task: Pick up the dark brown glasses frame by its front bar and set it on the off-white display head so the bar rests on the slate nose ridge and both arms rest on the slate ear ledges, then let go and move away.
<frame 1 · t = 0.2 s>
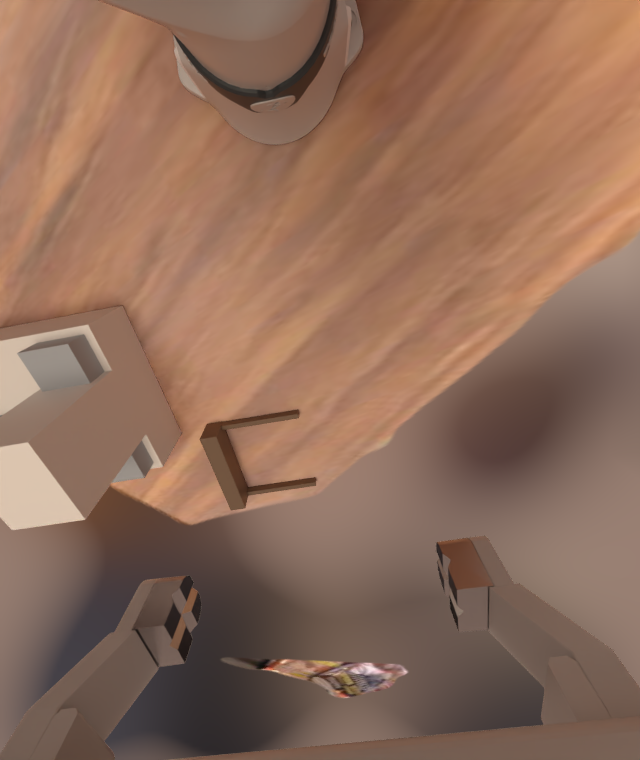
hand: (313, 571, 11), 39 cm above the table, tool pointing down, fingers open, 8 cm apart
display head: (93, 386, 52), on the table
glasses frame: (229, 459, 59), on the table
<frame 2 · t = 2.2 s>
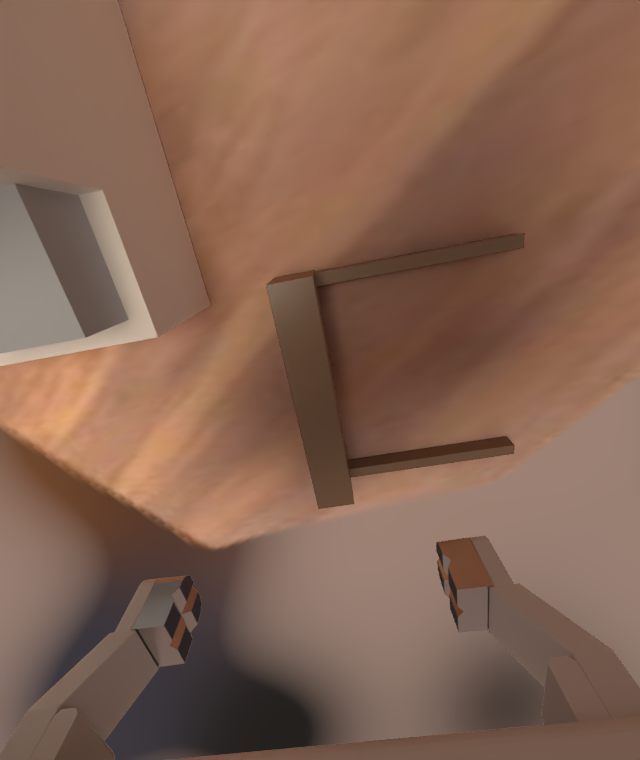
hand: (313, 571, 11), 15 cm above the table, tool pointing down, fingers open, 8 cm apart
glasses frame: (316, 384, 25), on the table
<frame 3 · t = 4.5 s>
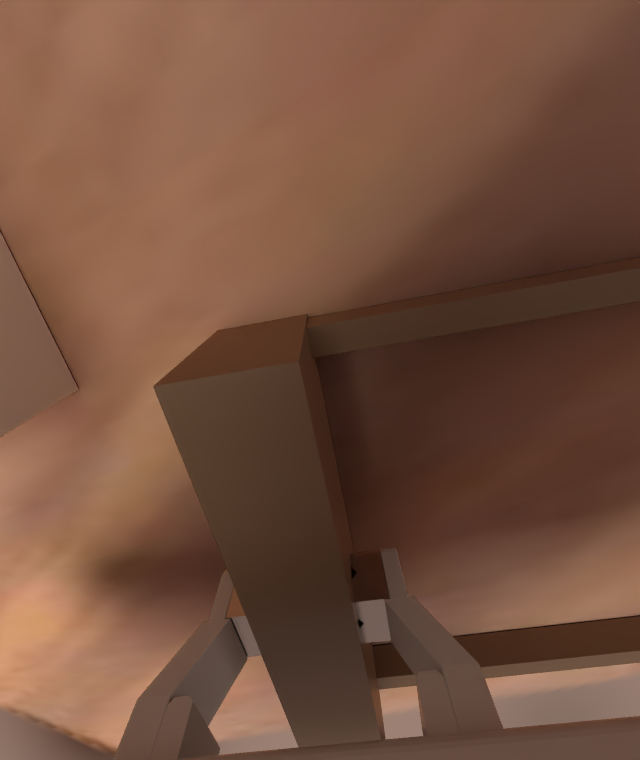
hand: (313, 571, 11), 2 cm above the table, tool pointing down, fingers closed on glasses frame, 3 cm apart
glasses frame: (314, 532, 12), on the table, touching gripper
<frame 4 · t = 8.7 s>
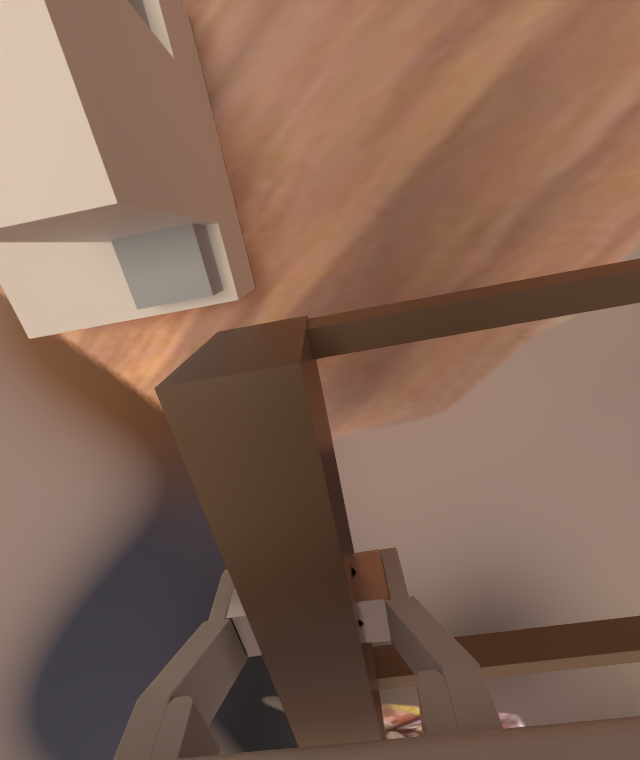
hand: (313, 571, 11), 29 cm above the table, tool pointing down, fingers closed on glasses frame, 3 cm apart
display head: (125, 190, 32), on the table
glasses frame: (314, 533, 12), point 27 cm above the table, touching gripper
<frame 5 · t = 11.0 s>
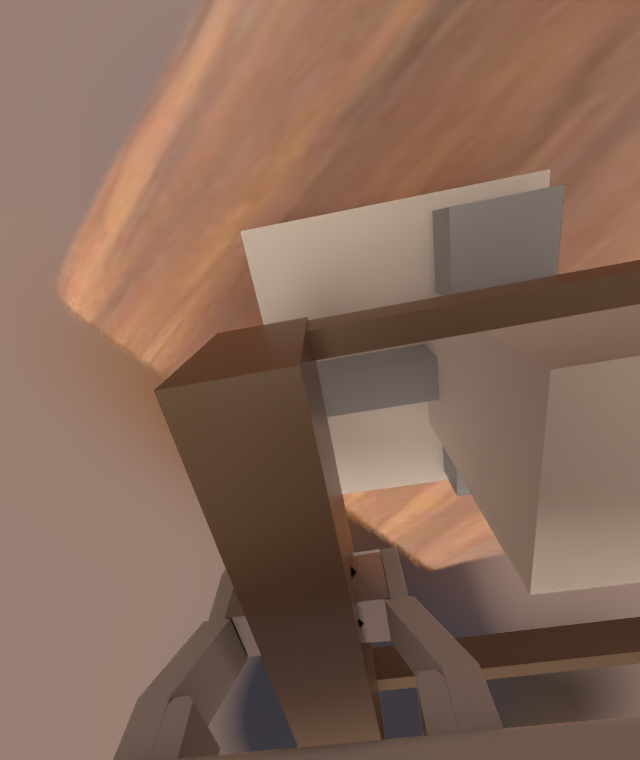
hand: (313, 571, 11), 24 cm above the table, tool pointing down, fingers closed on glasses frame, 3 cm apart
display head: (380, 338, 32), on the table
glasses frame: (314, 534, 12), point 22 cm above the table, touching gripper
when the fingers open (14 cm above the table, at t = 13.0 s): glasses frame drops 1 cm, resting on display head.
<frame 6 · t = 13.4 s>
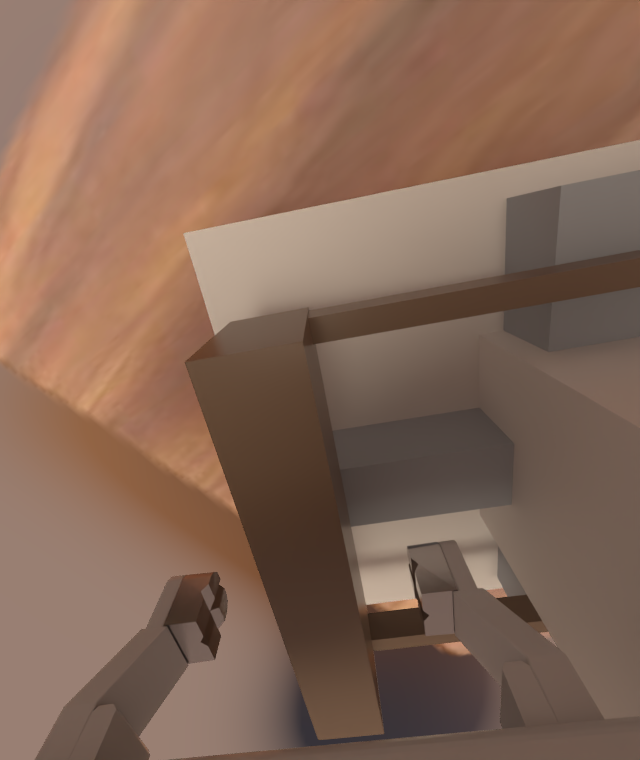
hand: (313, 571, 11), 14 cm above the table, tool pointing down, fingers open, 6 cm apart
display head: (400, 379, 24), on the table
glasses frame: (314, 505, 14), point 11 cm above the table, touching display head
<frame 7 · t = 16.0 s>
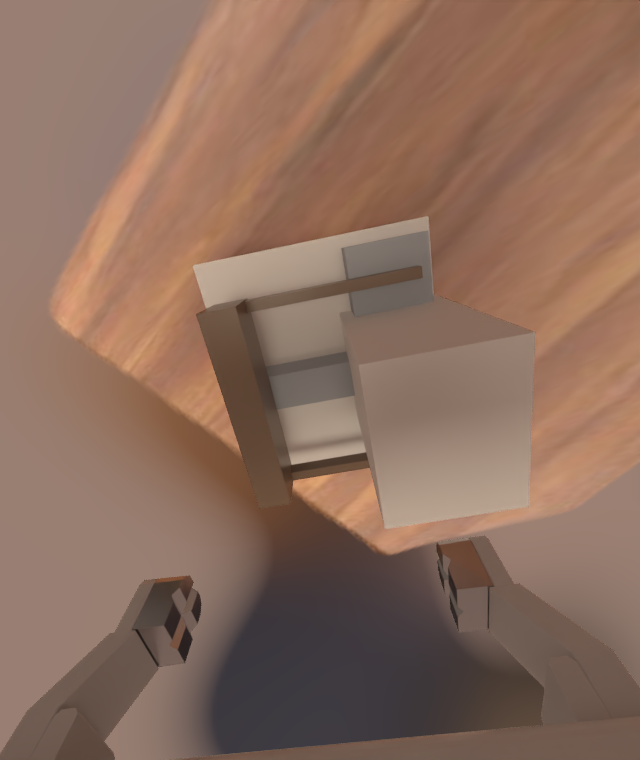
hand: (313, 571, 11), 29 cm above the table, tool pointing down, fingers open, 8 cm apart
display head: (325, 347, 38), on the table
glasses frame: (257, 397, 28), point 11 cm above the table, touching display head
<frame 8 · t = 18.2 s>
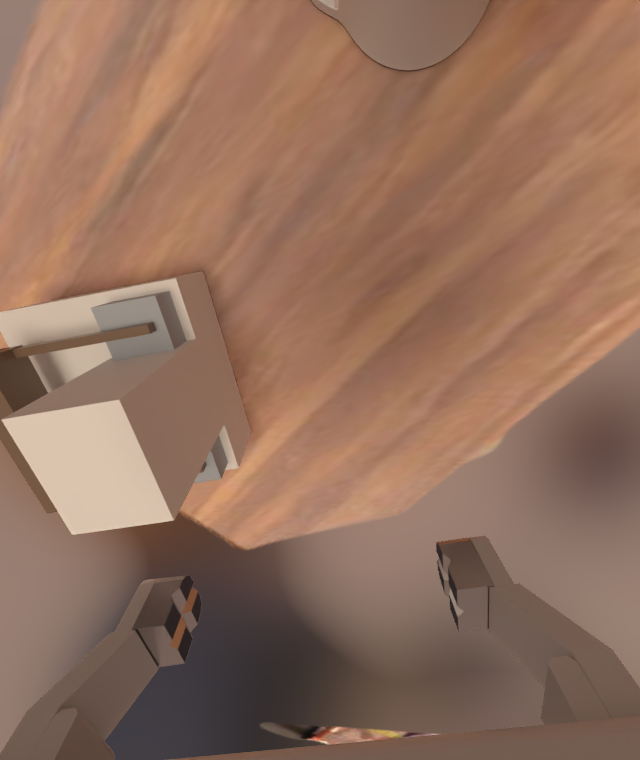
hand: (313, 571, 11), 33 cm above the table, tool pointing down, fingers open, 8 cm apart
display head: (155, 372, 44), on the table
glasses frame: (50, 421, 34), point 11 cm above the table, touching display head
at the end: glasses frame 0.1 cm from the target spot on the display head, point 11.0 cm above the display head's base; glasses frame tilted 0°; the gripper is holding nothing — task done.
